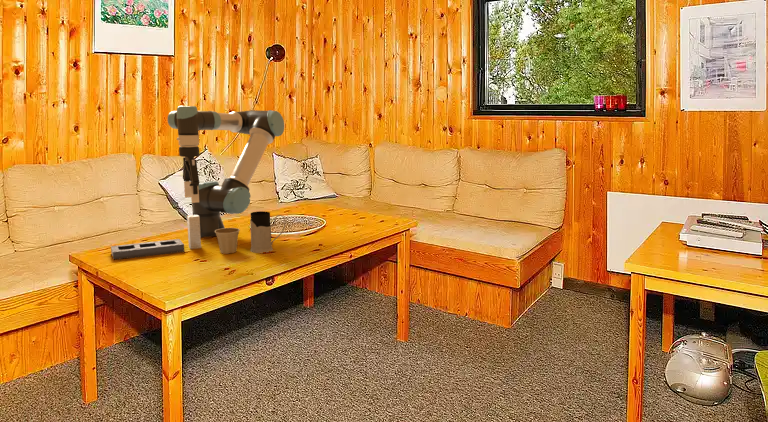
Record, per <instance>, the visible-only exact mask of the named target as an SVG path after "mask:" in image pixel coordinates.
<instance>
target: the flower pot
mask: <svg viewBox="0 0 768 422" xmlns="http://www.w3.org/2000/svg"><path fill="white" fill-rule="evenodd" d="M240 231H241V229H240V228H237V227H225V228H222V229H217V230H215V233H216V236H215V237H217V243H218V246H219V252H220V253H221V254H226V255H227V254H233V253H236V252H237V248H238V238H239V233H240Z"/></svg>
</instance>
